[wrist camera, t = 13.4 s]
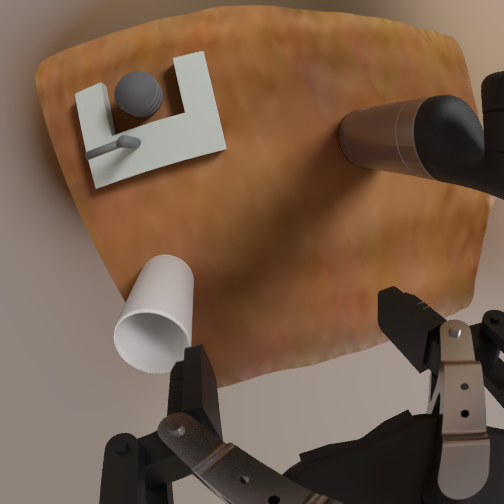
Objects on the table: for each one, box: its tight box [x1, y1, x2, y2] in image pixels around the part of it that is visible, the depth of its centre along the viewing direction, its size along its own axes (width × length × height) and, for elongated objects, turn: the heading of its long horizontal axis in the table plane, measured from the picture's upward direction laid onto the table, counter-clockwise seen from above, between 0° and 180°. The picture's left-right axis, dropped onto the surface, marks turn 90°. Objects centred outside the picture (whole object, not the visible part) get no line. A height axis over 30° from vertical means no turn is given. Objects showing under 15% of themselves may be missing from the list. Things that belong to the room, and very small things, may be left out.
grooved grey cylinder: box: [115, 71, 163, 117], centre depth 31 cm, size 5×5×6 cm
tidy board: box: [75, 51, 227, 189], centre depth 30 cm, size 18×14×8 cm
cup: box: [113, 255, 194, 374], centre depth 35 cm, size 8×8×16 cm
